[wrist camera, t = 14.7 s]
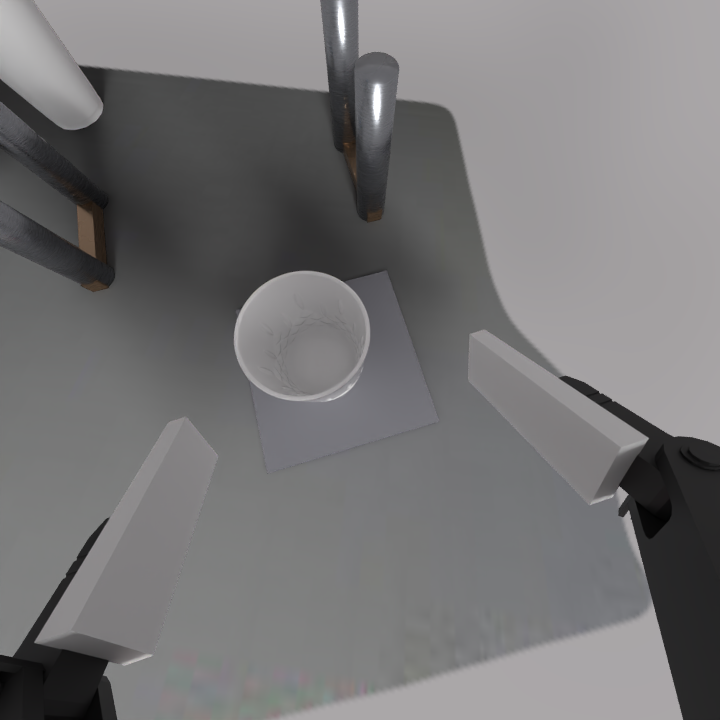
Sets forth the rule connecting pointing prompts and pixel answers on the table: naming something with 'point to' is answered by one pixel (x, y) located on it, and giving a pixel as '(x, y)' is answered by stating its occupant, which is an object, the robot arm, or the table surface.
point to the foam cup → (44, 67)
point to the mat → (353, 393)
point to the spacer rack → (88, 262)
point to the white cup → (303, 337)
